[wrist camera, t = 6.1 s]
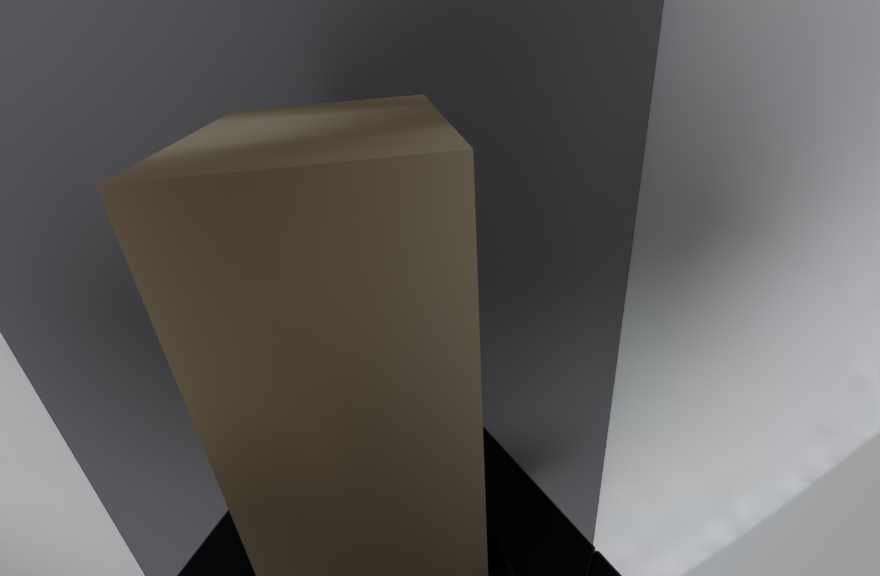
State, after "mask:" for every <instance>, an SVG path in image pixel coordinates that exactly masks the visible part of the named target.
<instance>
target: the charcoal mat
mask: <svg viewBox="0 0 880 576" xmlns="http://www.w3.org/2000/svg"><path fill="white" fill-rule="evenodd" d="M663 4H664V0H0V332H1V334H2V335H3V337H4V339H5V340H6V342H7V344H8V346H9V347H10V349H11V351H12V352H13V354H14V356H15V357H16V359H17V361H18V362H19V364H20V366H21V367H22V369H23V371H24V372H25V374H26V376H27V377H28V379H29V381H30V383H31V384H32V386H33V388H34V389H35V391H36V393H37V394H38V396H39V398H40V399H41V401H42V403H43V404H44V406H45V408H46V409H47V411H48V413H49V414H50V416H51V418H52V420H53V421H54V423H55V425H56V426H57V428H58V430H59V431H60V433H61V435H62V436H63V438H64V440H65V441H66V443H67V445H68V446H69V448H70V450H71V451H72V453H73V455H74V457H75V458H76V460H77V462H78V463H79V465H80V467H81V468H82V470H83V472H84V473H85V475H86V477H87V478H88V480H89V482H90V483H91V485H92V487H93V489H94V490H95V492H96V494H97V495H98V497H99V499H100V500H101V502H102V504H103V505H104V507H105V509H106V510H107V512H108V514H109V515H110V517H111V519H112V520H113V522H114V524H115V526H116V527H117V529H118V531H119V532H120V534H121V536H122V537H123V539H124V541H125V542H126V544H127V546H128V547H129V549H130V551H131V552H132V554H133V556H134V557H135V559H136V561H137V563H138V564H139V566H140V568H141V569H142V571H143V573H144V574H145V576H177V575H178V574H179V572H180V571H181V570H182V569H183V567H184V566H185V565H186V563H187V562H188V561H189V559H190V558H191V557H192V556H193V554H194V553H195V552H196V550H197V549H198V548H199V547H200V545H201V544H202V543H203V541H204V540H205V539H206V538H207V536H208V535H209V534H210V532H211V531H212V530H213V529H214V527H215V526H216V525H217V523H218V522H219V521H220V520H221V518H222V517H223V516H224V514H225V513H226V512H227V511H228V507H227V504H226V502H225V499H224V497H223V495H222V492H221V490H220V487H219V485H218V482H217V480H216V478H215V475H214V473H213V470H212V468H211V465H210V463H209V461H208V458H207V456H206V453H205V451H204V448H203V446H202V444H201V441H200V439H199V436H198V434H197V431H196V429H195V427H194V424H193V422H192V419H191V417H190V414H189V412H188V410H187V407H186V405H185V402H184V400H183V397H182V395H181V393H180V390H179V388H178V385H177V383H176V380H175V378H174V376H173V373H172V371H171V368H170V366H169V363H168V361H167V359H166V356H165V354H164V351H163V349H162V346H161V344H160V342H159V339H158V337H157V334H156V332H155V330H154V327H153V325H152V322H151V320H150V317H149V315H148V313H147V310H146V308H145V305H144V303H143V300H142V298H141V296H140V293H139V291H138V288H137V286H136V283H135V281H134V279H133V276H132V274H131V271H130V269H129V266H128V264H127V262H126V259H125V257H124V254H123V252H122V249H121V247H120V245H119V242H118V240H117V237H116V235H115V232H114V230H113V228H112V225H111V223H110V220H109V218H108V215H107V213H106V211H105V208H104V206H103V203H102V201H101V198H100V196H99V194H98V191H97V189H96V185H97V184H99V183H101V182H103V181H105V180H107V179H109V178H110V177H112V176H114V175H116V174H118V173H120V172H122V171H123V170H125V169H127V168H129V167H131V166H133V165H134V164H136V163H138V162H140V161H142V160H144V159H146V158H147V157H149V156H151V155H153V154H155V153H157V152H159V151H160V150H162V149H164V148H166V147H168V146H170V145H171V144H173V143H175V142H177V141H179V140H181V139H183V138H184V137H186V136H188V135H190V134H192V133H194V132H196V131H197V130H199V129H201V128H203V127H205V126H207V125H208V124H210V123H212V122H214V121H216V120H218V119H220V118H221V117H223V116H225V115H227V114H229V113H231V112H233V111H240V110H252V109H263V108H274V107H286V106H297V105H309V104H320V103H331V102H343V101H354V100H366V99H377V98H389V97H400V96H411V95H423V94H424V95H425V96H426V98H427V99H428V100H429V101H430V102H431V103H432V104H433V105H434V106H435V107H436V109H437V110H438V111H439V112H440V113H441V114H442V115H443V116H444V117H445V118H446V120H447V121H448V122H449V123H450V124H451V125H452V126H453V127H454V128H455V129H456V130H457V132H458V133H459V134H460V135H461V136H462V137H463V138H464V139H465V140H466V141H467V143H468V144H469V145H470V146H471V147H472V148H473V157H474V185H475V214H476V242H477V271H478V299H479V328H480V356H481V385H482V413H483V426H484V427H485V428H486V430H487V431H488V432H489V433H490V434H491V435H492V436H493V437H494V438H495V439H496V440H497V441H498V443H499V444H500V445H501V446H502V447H503V448H504V449H505V450H506V451H507V452H508V453H509V454H510V456H511V457H512V458H513V459H514V460H515V461H516V462H517V463H518V464H519V465H521V467H522V469H523V470H524V471H525V472H526V473H527V474H528V475H529V476H530V477H531V478H532V479H533V481H534V482H535V483H536V484H537V485H538V486H539V487H540V488H541V489H542V490H543V491H544V492H545V494H546V495H547V496H548V497H549V498H550V499H551V500H552V501H553V502H554V503H555V504H556V505H557V507H558V508H559V509H560V510H561V511H562V512H563V513H564V514H565V515H566V516H567V517H568V519H569V520H570V521H571V522H572V523H573V524H574V525H575V526H576V527H577V528H578V529H579V530H580V532H581V533H582V534H583V535H584V536H585V537H586V538H587V539H588V540H589V541H590V542H591V543H592V545H593V540H594V532H595V525H596V517H597V509H598V502H599V494H600V487H601V479H602V471H603V464H604V456H605V448H606V441H607V433H608V425H609V418H610V410H611V402H612V395H613V387H614V379H615V372H616V364H617V356H618V349H619V341H620V333H621V326H622V318H623V310H624V303H625V295H626V287H627V280H628V272H629V264H630V257H631V249H632V241H633V234H634V226H635V218H636V211H637V203H638V195H639V188H640V180H641V172H642V165H643V157H644V149H645V142H646V134H647V127H648V119H649V111H650V104H651V96H652V88H653V81H654V73H655V65H656V58H657V50H658V42H659V35H660V27H661V19H662V12H663Z"/></svg>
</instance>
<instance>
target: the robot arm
mask: <svg viewBox="0 0 880 576" xmlns="http://www.w3.org/2000/svg"><path fill="white" fill-rule="evenodd" d="M483 442H484V470H485V499H486V527H487V556H488V576H621V575H620V574H619V572H618V571H617V570H616V569H615V568H614V567H613V566H612V565H611V564H610V563H609V562H608V561H607V560H606V558H605V557H604V556H603V555H602V554H601V553H600V552H599V551H595V547H594V546H593V545H592V543H591V542H590V541H589V540H588V539H587V538H586V537H585V536H584V535H583V534H582V533H581V532H580V530H579V529H578V528H577V527H576V526H575V525H574V524H573V523H572V522H571V521H570V520H569V519H568V517H567V516H566V515H565V514H564V513H563V512H562V511H561V510H560V509H559V508H558V507H557V505H556V504H555V503H554V502H553V501H552V500H551V499H550V498H549V497H548V496H547V495H546V494H545V492H544V491H543V490H542V489H541V488H540V487H539V486H538V485H537V484H536V483H535V482H534V481H533V479H532V478H531V477H530V476H529V475H528V474H527V473H526V472H525V471H524V470H523V469H522V468H521V466H520V465H519V464H518V463H517V462H516V461H515V460H514V459H513V458H512V457H511V456H510V454H509V453H508V452H507V451H506V450H505V449H504V448H503V447H502V446H501V445H500V444H499V443H498V441H497V440H496V439H495V438H494V437H493V436H492V435H491V434H490V433H489V432H488V431H487V430H486V428H485V427H484V426H483ZM177 576H256V575H255V572H254V570H253V567H252V565H251V562H250V560H249V558H248V555H247V553H246V550H245V548H244V546H243V543H242V541H241V538H240V536H239V533H238V531H237V529H236V526H235V524H234V521H233V519H232V516H231V514H230V512H229V509H228V511H227V512H226V513H225V514H224V516H223V517H222V518H221V520H220V521H219V522H218V523H217V525H216V526H215V527H214V529H213V530H212V531H211V532H210V534H209V535H208V536H207V538H206V539H205V540H204V541H203V543H202V544H201V545H200V547H199V548H198V549H197V550H196V552H195V553H194V554H193V556H192V557H191V558H190V559H189V561H188V562H187V563H186V565H185V566H184V567H183V569H182V570H181V571H180V572H179V574H178V575H177Z"/></svg>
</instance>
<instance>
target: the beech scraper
mask: <svg viewBox="0 0 880 576" xmlns="http://www.w3.org/2000/svg"><path fill="white" fill-rule="evenodd" d="M96 189H97V191H98V194H99V196H100V198H101V201H102V203H103V206H104V208H105V211H106V213H107V215H108V218H109V220H110V223H111V225H112V228H113V230H114V232H115V235H116V237H117V240H118V242H119V245H120V247H121V249H122V252H123V254H124V257H125V259H126V262H127V264H128V266H129V269H130V271H131V274H132V276H133V279H134V281H135V283H136V286H137V288H138V291H139V293H140V296H141V298H142V300H143V303H144V305H145V308H146V310H147V313H148V315H149V317H150V320H151V322H152V325H153V327H154V330H155V332H156V334H157V337H158V339H159V342H160V344H161V346H162V349H163V351H164V354H165V356H166V359H167V361H168V363H169V366H170V368H171V371H172V373H173V376H174V378H175V380H176V383H177V385H178V388H179V390H180V393H181V395H182V397H183V400H184V402H185V405H186V407H187V410H188V412H189V414H190V417H191V419H192V422H193V424H194V427H195V429H196V431H197V434H198V436H199V439H200V441H201V444H202V446H203V448H204V451H205V453H206V456H207V458H208V461H209V463H210V465H211V468H212V470H213V473H214V475H215V478H216V480H217V482H218V485H219V487H220V490H221V492H222V495H223V497H224V499H225V502H226V504H227V507H228V509H229V512H230V514H231V516H232V519H233V521H234V524H235V526H236V529H237V531H238V533H239V536H240V538H241V541H242V543H243V546H244V548H245V550H246V553H247V555H248V558H249V560H250V562H251V565H252V567H253V570H254V572H255V575H256V576H488V556H487V527H486V499H485V470H484V442H483V413H482V385H481V356H480V328H479V299H478V271H477V242H476V214H475V185H474V157H473V148H472V147H471V146H470V145H469V144H468V143H467V141H466V140H465V139H464V138H463V137H462V136H461V135H460V134H459V133H458V132H457V130H456V129H455V128H454V127H453V126H452V125H451V124H450V123H449V122H448V121H447V120H446V118H445V117H444V116H443V115H442V114H441V113H440V112H439V111H438V110H437V109H436V107H435V106H434V105H433V104H432V103H431V102H430V101H429V100H428V99H427V98H426V96H425V95H424V94H423V95H411V96H400V97H389V98H377V99H366V100H354V101H343V102H331V103H320V104H309V105H297V106H286V107H274V108H263V109H252V110H240V111H233V112H231V113H229V114H227V115H225V116H223V117H221V118H220V119H218V120H216V121H214V122H212V123H210V124H208V125H207V126H205V127H203V128H201V129H199V130H197V131H196V132H194V133H192V134H190V135H188V136H186V137H184V138H183V139H181V140H179V141H177V142H175V143H173V144H171V145H170V146H168V147H166V148H164V149H162V150H160V151H159V152H157V153H155V154H153V155H151V156H149V157H147V158H146V159H144V160H142V161H140V162H138V163H136V164H134V165H133V166H131V167H129V168H127V169H125V170H123V171H122V172H120V173H118V174H116V175H114V176H112V177H110V178H109V179H107V180H105V181H103V182H101V183H99V184H97V185H96Z"/></svg>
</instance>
